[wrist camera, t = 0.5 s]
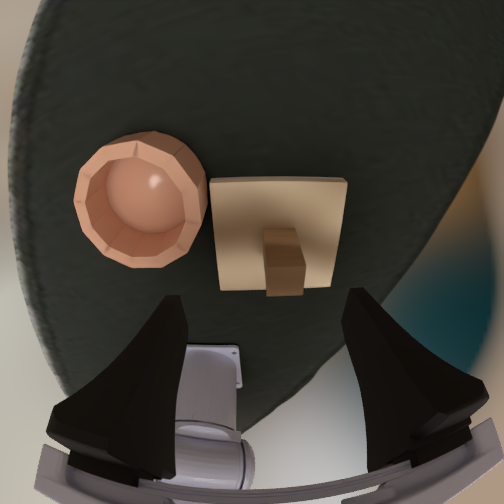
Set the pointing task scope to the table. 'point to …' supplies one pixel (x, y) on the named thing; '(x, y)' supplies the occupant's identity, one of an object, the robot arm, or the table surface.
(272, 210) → the board
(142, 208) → the bowl
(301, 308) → the table surface
